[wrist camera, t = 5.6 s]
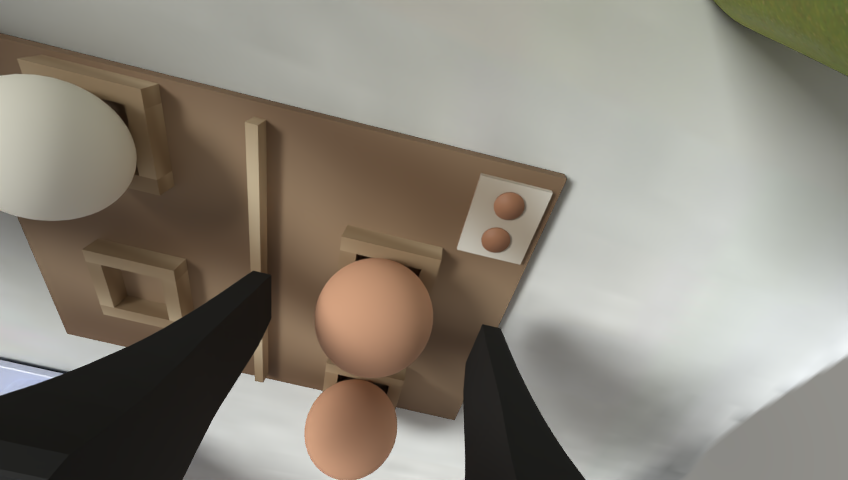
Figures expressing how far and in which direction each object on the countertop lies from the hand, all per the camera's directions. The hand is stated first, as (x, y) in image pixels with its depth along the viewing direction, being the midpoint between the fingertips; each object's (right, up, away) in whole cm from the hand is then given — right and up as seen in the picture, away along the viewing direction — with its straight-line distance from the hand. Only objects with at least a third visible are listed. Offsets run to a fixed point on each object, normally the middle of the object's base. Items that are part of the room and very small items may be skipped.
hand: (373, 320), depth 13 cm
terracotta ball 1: (0, 0, 0) cm, 0 cm away
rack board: (-5, +2, +3) cm, 6 cm away
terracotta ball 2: (-1, -6, +4) cm, 7 cm away
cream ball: (-9, +5, -2) cm, 11 cm away
